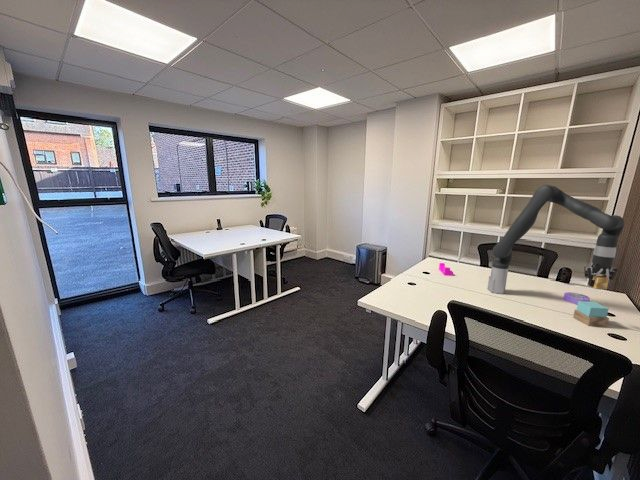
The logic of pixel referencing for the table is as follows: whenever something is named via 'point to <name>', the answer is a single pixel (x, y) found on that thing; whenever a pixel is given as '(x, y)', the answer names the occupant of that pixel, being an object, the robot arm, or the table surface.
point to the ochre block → (600, 282)
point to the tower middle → (592, 309)
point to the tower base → (590, 319)
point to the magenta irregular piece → (445, 269)
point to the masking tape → (575, 297)
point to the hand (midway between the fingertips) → (596, 286)
